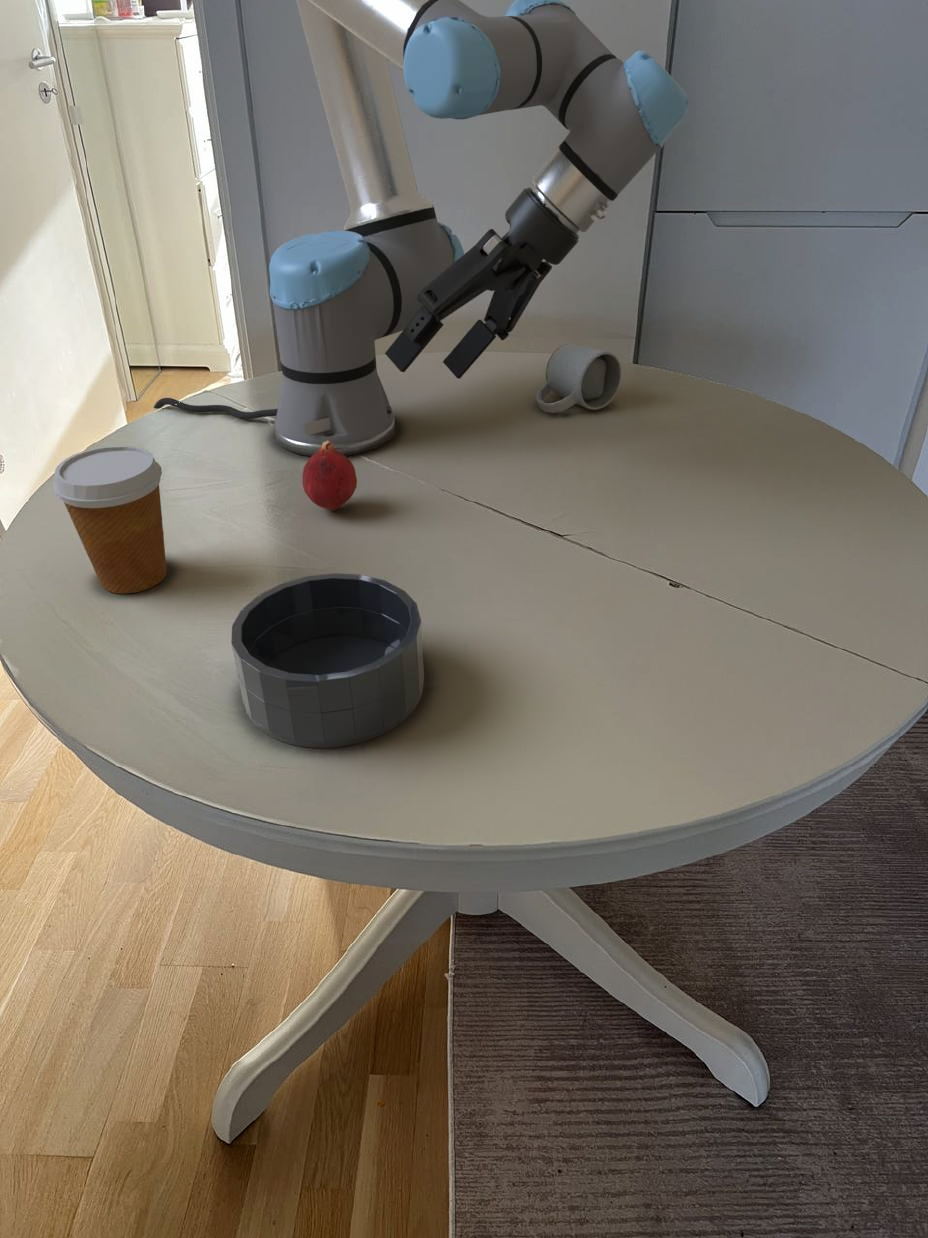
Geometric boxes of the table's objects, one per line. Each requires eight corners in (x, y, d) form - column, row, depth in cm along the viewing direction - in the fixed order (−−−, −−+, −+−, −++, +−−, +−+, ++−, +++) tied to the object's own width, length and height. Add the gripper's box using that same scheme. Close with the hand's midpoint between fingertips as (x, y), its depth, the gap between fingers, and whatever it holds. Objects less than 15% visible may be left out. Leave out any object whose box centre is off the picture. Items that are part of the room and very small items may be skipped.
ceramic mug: (579, 385, 131) (582, 332, 126) (621, 402, 125) (624, 346, 121) (522, 405, 126) (523, 349, 121) (563, 423, 120) (564, 365, 116)
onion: (350, 525, 98) (343, 456, 94) (298, 520, 99) (289, 452, 95) (365, 500, 103) (359, 433, 98) (316, 496, 104) (308, 429, 99)
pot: (208, 691, 75) (193, 626, 72) (344, 616, 84) (337, 555, 80) (322, 776, 67) (312, 708, 63) (460, 683, 76) (458, 618, 72)
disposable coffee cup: (87, 613, 85) (52, 496, 78) (79, 564, 92) (46, 454, 85) (191, 589, 88) (166, 475, 81) (175, 544, 95) (151, 436, 88)
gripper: (536, 209, 81) (389, 386, 91) (614, 256, 103) (490, 394, 113) (482, 151, 82) (343, 332, 92) (571, 210, 105) (452, 351, 114)
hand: (424, 366), depth 102 cm, fingers open, 13 cm apart
